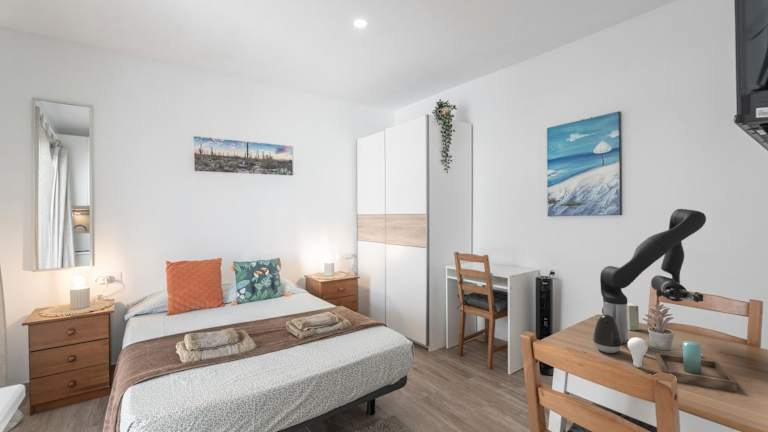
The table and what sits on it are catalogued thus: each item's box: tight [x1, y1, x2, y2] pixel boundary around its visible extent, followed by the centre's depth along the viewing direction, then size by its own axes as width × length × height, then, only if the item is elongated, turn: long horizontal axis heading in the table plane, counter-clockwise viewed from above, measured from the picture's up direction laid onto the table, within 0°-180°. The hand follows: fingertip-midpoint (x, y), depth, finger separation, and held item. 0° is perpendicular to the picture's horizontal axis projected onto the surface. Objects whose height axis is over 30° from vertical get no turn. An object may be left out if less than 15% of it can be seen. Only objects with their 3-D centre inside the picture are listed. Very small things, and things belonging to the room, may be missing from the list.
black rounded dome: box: [592, 314, 623, 354], centre depth 146 cm, size 10×10×15 cm
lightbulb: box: [627, 337, 649, 369], centre depth 130 cm, size 6×6×11 cm
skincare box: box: [627, 302, 640, 331], centre depth 174 cm, size 6×4×12 cm
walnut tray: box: [655, 352, 737, 393], centre depth 124 cm, size 18×18×3 cm
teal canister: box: [682, 340, 702, 375], centre depth 124 cm, size 5×5×10 cm
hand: (682, 298), depth 135 cm, fingers open, 8 cm apart
